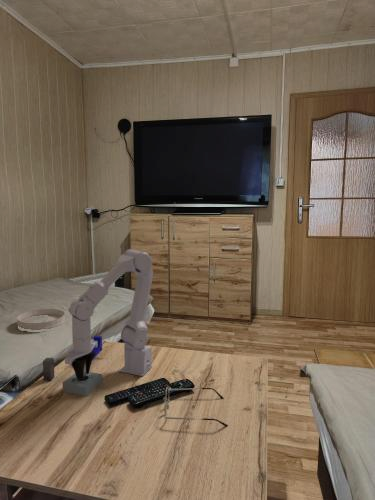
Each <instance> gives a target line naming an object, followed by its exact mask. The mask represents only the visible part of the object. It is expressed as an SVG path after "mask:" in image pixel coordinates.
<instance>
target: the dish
mask: <svg viewBox="0 0 375 500" xmlns="http://www.w3.org/2000/svg"><path fill="white" fill-rule="evenodd" d="M39 315H48V320H49V321H48V322H41V323H25V322H21V320H22V319H25V318H28V317H32V316H39ZM46 317H47V316H46ZM65 317H66V316H65V312H64V310H61V309H58V308H40V309H33V310H29V311H25V312H23V313H21V314H19V315H18V316H17V317H16V321H17V322H16V326H17V325H18V326H19V327H21V328H24V329H31V330H41V329H51V328H55V327H58V326H61V325H62V324H63V323H64V322H65V323H66V318H65Z"/></svg>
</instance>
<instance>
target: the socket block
mask: <svg viewBox="0 0 375 500" xmlns="http://www.w3.org/2000/svg"><path fill="white" fill-rule="evenodd" d="M86 377H87V380H86V381H78V378H77V377H76V374H75V373H73V374H72V375H70V376H69V377H68V378H66V379H65V380H63V381H62V392H64V393H65V392H66V393H70V394H74V395H79V396H83V397H87V396H89V394H91V393H92V392H93V391H94V390H96V389H97V388H98V387H99V386H100V385H102V384H103V374H102V373H97V372H94V371H89V374H86Z"/></svg>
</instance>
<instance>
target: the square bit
mask: <svg viewBox="0 0 375 500" xmlns="http://www.w3.org/2000/svg"><path fill="white" fill-rule="evenodd" d="M42 374H43V376H42V377H43V381H45V382H46V381H47V382H52V381H53V380H54V378H55V358H53V357H46V358H45V359H43V360H42Z"/></svg>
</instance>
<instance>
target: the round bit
mask: <svg viewBox="0 0 375 500" xmlns="http://www.w3.org/2000/svg"><path fill="white" fill-rule="evenodd" d="M86 380H87V377H86V362H85V366H84V375H83V378H82V379H80V378H78V381H86Z"/></svg>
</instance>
